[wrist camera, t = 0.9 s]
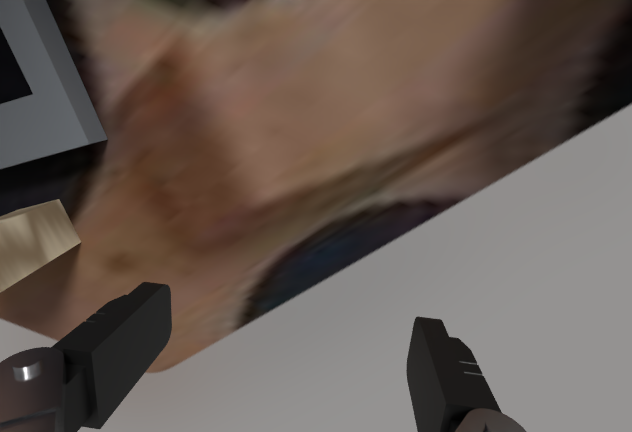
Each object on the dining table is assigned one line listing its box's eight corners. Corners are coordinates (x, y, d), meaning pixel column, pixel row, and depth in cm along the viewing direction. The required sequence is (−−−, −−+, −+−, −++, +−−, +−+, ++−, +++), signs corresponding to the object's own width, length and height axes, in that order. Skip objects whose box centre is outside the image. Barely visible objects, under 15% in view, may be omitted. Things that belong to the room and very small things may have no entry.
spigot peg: (17, 210, 34) (-89, 251, 25) (59, 199, 33) (-35, 237, 25) (40, 252, 35) (-52, 304, 27) (81, 242, 35) (-1, 292, 26)
